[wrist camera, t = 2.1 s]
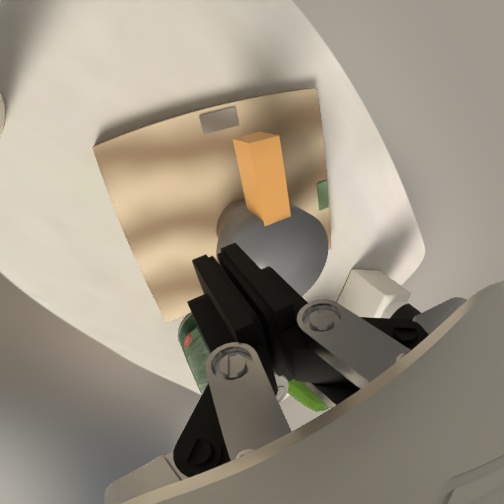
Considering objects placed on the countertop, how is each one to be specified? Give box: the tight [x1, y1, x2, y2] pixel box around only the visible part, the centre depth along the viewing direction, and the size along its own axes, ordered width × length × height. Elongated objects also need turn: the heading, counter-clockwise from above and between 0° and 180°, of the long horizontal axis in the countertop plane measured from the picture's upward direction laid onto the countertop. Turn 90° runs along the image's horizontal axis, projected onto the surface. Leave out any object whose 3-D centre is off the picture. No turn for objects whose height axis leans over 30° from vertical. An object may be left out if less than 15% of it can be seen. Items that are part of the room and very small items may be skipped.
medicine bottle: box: [337, 269, 421, 320], centre depth 38 cm, size 7×7×12 cm
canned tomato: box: [178, 312, 289, 403], centre depth 29 cm, size 8×8×11 cm
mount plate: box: [93, 88, 331, 322], centre depth 25 cm, size 18×20×6 cm
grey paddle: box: [216, 132, 328, 296], centre depth 21 cm, size 13×8×3 cm, turn 12°
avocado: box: [287, 379, 330, 412], centre depth 36 cm, size 8×8×12 cm
